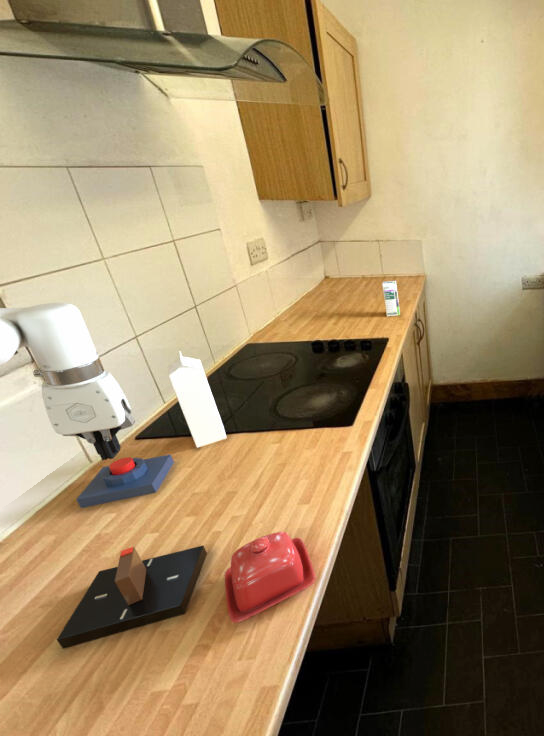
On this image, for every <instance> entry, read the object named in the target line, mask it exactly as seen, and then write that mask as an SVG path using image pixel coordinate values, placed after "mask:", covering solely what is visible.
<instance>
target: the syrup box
mask: <svg viewBox="0 0 544 736" xmlns="http://www.w3.org/2000/svg"><path fill="white" fill-rule="evenodd" d="M381 285H382V293H383V298H384V299H383V300H384V305H385V314H386V318H387V317H388V318H389V317H399V316H401V310H400V309H401V308H400V302H399V293H398V286H397V280H389V281H382V283H381Z"/></svg>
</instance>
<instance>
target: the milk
mask: <svg viewBox="0 0 544 736" xmlns="http://www.w3.org/2000/svg"><path fill="white" fill-rule="evenodd" d="M178 353H179V358H178V359H175V361H173V362H172V363H171V364H170V365H169V366H168V367H167V370H168V378H169V381H170V384H171V386H172V388H173V391H174V394H175V396H176V398H177V401H178V404H179V407H180V409H181V411H182V414H183V417H184V419H185V422H186V424H187V427H188V429H189V432H190V434H191V437H192V439H193V441H194V445H195V447H196V448H197V449H198V448H201V447H204V446H208V445H211V444H214V443H216V442H219V441H223V440H226V439H227V434H226V430H225V426H224V423H223V421H222V418H221V415H220V412H219V410H218V407H217V404H216V401H215V398H214V395H213V393H212V390H211V386H210V384H209V381H208V378H207V376H206V373H205V369H204V367H203V364H202V361H201V359H199V358H193V357H187V356H183V355H182V352H181V351H180V350H179V352H178Z"/></svg>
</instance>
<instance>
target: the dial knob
mask: <svg viewBox="0 0 544 736" xmlns="http://www.w3.org/2000/svg"><path fill="white" fill-rule="evenodd" d="M117 567H118V568H117V573H116V578H115V583H116V585H117V587H118V588H119V590H120V592H121V594H122V595H123V597H124V599H125V600H126V602H127V604H128V605H131V604H133V603H135V602H138V601H140V600H142V598H143V591H144V584H145V576H146V568H145V566H144V564H143V562H142V559H141V557H140V555H139V553H138V551H137V549H136V547H135V546H134V547H133V546H131V547H128V548H126V549H123V550H121V551H120V554H119V559H118V564H117Z"/></svg>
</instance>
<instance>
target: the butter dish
mask: <svg viewBox="0 0 544 736" xmlns="http://www.w3.org/2000/svg"><path fill="white" fill-rule="evenodd" d="M316 578H317V577H316V573H315V569H314V566H313V564H312V561H311V558H310V556H309V552H308V550H307V548H306V545H305V542H304V540H303V539H302V538H301V537H294V538H292V537H290V535H289V533H287V532H285V531H277V532H273V533H269V534H266V535H264V536H261V537H257V538H256V539H254V540H251V541H249V542H247V543H246V544H244V545H242V546H241V547H239V548H238V549H237V550H236V551H234V552H233V554H232V555H231V558H230V567H228V568H227V569H226V571H225V572H224V591H225V599H226V606H227V607H226V608H227V612H228V617H229V620H230V622H231V623H233V624H237V623H241V622H244V621H245V620H247V619H249V618H252V617H254V616H256V615H257V614H260V613H261V612H264V611H265V610H267V609H269V608H272V607H273V606H275V605H278V604H279V603H280V602H283V601H285V600H287V599H289V598H290V597H292V596H295V595H296V594H299V593H300V592H303V591H305V590H306V589H307V588H309V587H311V586H312V585H313V584H314V583H315V582H316V580H317V579H316Z"/></svg>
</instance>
